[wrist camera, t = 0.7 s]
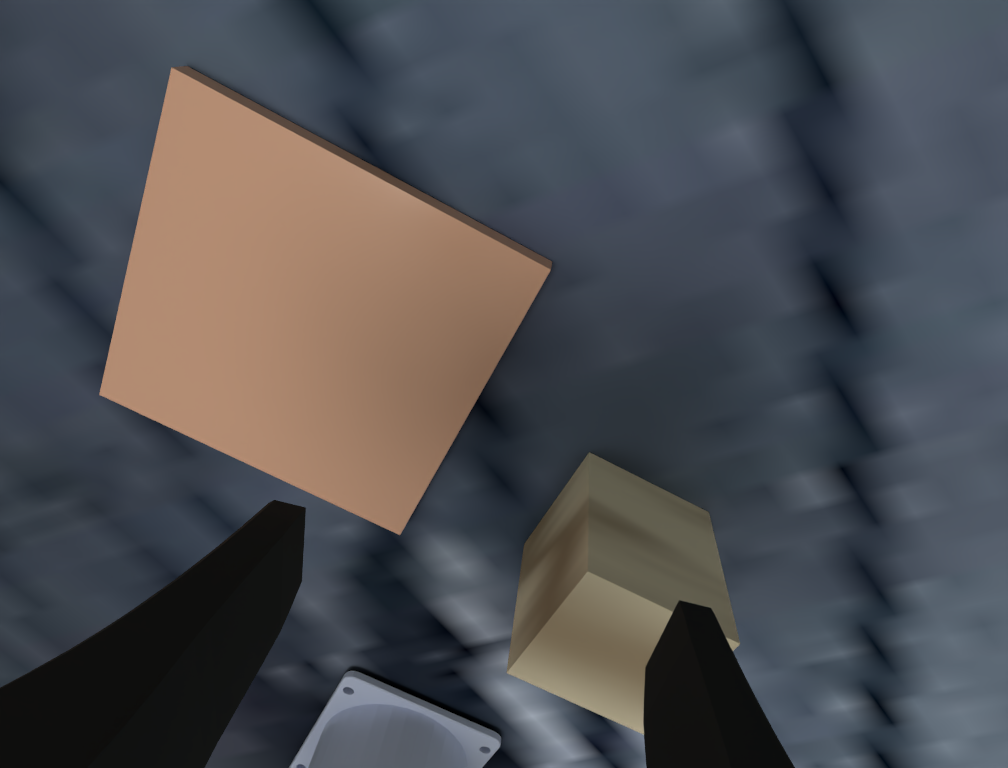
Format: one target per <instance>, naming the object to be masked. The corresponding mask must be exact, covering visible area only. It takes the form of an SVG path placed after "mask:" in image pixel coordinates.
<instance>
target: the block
mask: <svg viewBox="0 0 1008 768" xmlns="http://www.w3.org/2000/svg"><path fill="white" fill-rule="evenodd" d="M679 600H681V601H685V602H689V603H693V604H697V605H701V606H705V607H710V608H711V609H712V610H713V612H714V614H715V616H716V618H717V620H718V622H719V624H720V626H721V628H722V630H723V633H724V635H725V637H726V639H727V641H728V643H729V645H730V647H731V649H732V651H733V650H734V649H735V648H736V647H738V646H739V645H740V641H739V637H738V633H737V629H736V624H735V620H734V616H733V612H732V608H731V603H730V599H729V595H728V591H727V587H726V582H725V578H724V574H723V570H722V566H721V561H720V557H719V553H718V549H717V544H716V540H715V536H714V532H713V528H712V523H711V519H710V515H709V512H707V511H705V510H703V509H701V508H699V507H697V506H695V505H693V504H691V503H689V502H687V501H685V500H683V499H681V498H679V497H678V496H676V495H674V494H672V493H670V492H668V491H666V490H664V489H662V488H660V487H658V486H656V485H654V484H652V483H650V482H648V481H646V480H644V479H642V478H640V477H638V476H636V475H634V474H632V473H630V472H628V471H626V470H624V469H622V468H620V467H618V466H616V465H614V464H612V463H610V462H608V461H606V460H604V459H602V458H600V457H598V456H596V455H594V454H592V453H590V452H589V453H588V455H587V456H586V457H585V459H584V460H583V462H582V463H581V465H580V466H579V467H578V469H577V470H576V472H575V473H574V474H573V476H572V477H571V479H570V480H569V482H568V483H567V484H566V486H565V487H564V489H563V490H562V491H561V493H560V494H559V496H558V497H557V498H556V500H555V501H554V503H553V504H552V506H551V507H550V508H549V510H548V511H547V513H546V514H545V515H544V517H543V518H542V520H541V521H540V523H539V524H538V525H537V527H536V528H535V530H534V531H533V532H532V534H531V535H530V537H529V538H528V539H527V541H526V542H525V544H524V549H523V557H522V564H521V571H520V579H519V586H518V593H517V601H516V608H515V615H514V623H513V630H512V637H511V645H510V652H509V659H508V667H507V673H508V674H510V675H512V676H515V677H517V678H519V679H521V680H524V681H526V682H528V683H530V684H532V685H535V686H537V687H539V688H541V689H544V690H546V691H548V692H550V693H553V694H555V695H557V696H559V697H561V698H564V699H566V700H568V701H570V702H573V703H575V704H577V705H579V706H581V707H584V708H586V709H588V710H590V711H593V712H595V713H597V714H599V715H602V716H604V717H606V718H608V719H610V720H613V721H615V722H617V723H619V724H622V725H624V726H626V727H628V728H630V729H633V730H635V731H637V732H639V733H642V734H644V725H643V716H644V686H645V667H646V665H647V663H648V661H649V659H650V657H651V655H652V653H653V651H654V649H655V647H656V645H657V643H658V641H659V639H660V637H661V635H662V633H663V631H664V629H665V627H666V625H667V623H668V621H669V619H670V617H671V615H672V613H673V611H674V609H675V607H676V605H677V603H678V601H679Z"/></svg>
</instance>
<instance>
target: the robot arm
mask: <svg viewBox="0 0 1008 768" xmlns="http://www.w3.org/2000/svg"><path fill="white" fill-rule="evenodd" d="M305 511H306V508H305V507H301V506H297V505H293V504H288V503H284V502H280V501H276V500H274V501H272V502H270V503H268V504H267V505H266V506H265V507H264V508H262V509H261V510H260V511H259V512H258V513H257V514H256V515H254V516H253V517H252V518H251V519H250V520H249V521H248V522H246V523H245V524H244V525H243V526H242V527H241V528H239V529H238V530H237V531H236V532H235V533H233V534H232V535H231V536H230V537H229V538H227V539H226V540H225V541H224V542H222V543H221V544H220V545H219V546H218V547H216V548H215V549H214V550H213V551H211V552H210V553H209V554H208V555H206V556H205V557H204V558H202V559H201V560H200V561H199V562H197V563H196V564H195V565H193V566H192V567H191V568H190V569H188V570H187V571H186V572H184V573H183V574H182V575H181V576H179V577H178V578H176V579H175V580H174V581H172V582H171V583H170V584H168V585H167V586H165V587H164V588H163V589H161V590H160V591H158V592H157V593H156V594H154V595H153V596H151V597H150V598H148V599H147V600H146V601H144V602H143V603H141V604H140V605H139V606H137V607H136V608H134V609H133V610H131V611H130V612H128V613H127V614H125V615H124V616H122V617H121V618H119V619H118V620H116V621H115V622H113V623H112V624H110V625H109V626H107V627H106V628H104V629H102V630H101V631H99V632H98V633H96V634H94V635H93V636H91V637H89V638H88V639H86V640H85V641H83V642H81V643H80V644H78V645H76V646H75V647H73V648H71V649H70V650H68V651H66V652H64V653H63V654H61V655H59V656H57V657H56V658H54V659H52V660H50V661H48V662H47V663H45V664H43V665H41V666H40V667H38V668H36V669H34V670H32V671H31V672H29V673H27V674H25V675H23V676H21V677H20V678H18V679H16V680H14V681H12V682H10V683H8V684H6V685H4V686H3V687H1V688H0V768H204V767H205V766H206V764H207V762H208V760H209V758H210V756H211V754H212V752H213V750H214V748H215V746H216V744H217V743H218V741H219V739H220V737H221V735H222V734H223V732H224V730H225V728H226V727H227V725H228V723H229V721H230V720H231V718H232V716H233V714H234V713H235V711H236V709H237V707H238V706H239V704H240V702H241V700H242V699H243V697H244V695H245V693H246V692H247V690H248V688H249V686H250V685H251V683H252V681H253V679H254V678H255V676H256V674H257V672H258V671H259V669H260V667H261V665H262V663H263V662H264V660H265V658H266V656H267V655H268V653H269V651H270V649H271V647H272V646H273V644H274V642H275V640H276V638H277V637H278V635H279V633H280V631H281V629H282V627H283V624H284V622H285V620H286V617H287V615H288V613H289V611H290V608H291V606H292V604H293V601H294V599H295V596H296V594H297V592H298V589H299V587H300V584H301V582H302V567H303V548H304V530H305ZM643 725H644V739H645V752H646V765H647V768H795V767H794V765H793V764H792V762H791V760H790V759H789V757H788V755H787V754H786V752H785V750H784V748H783V747H782V745H781V743H780V741H779V740H778V738H777V736H776V734H775V732H774V731H773V729H772V727H771V725H770V723H769V721H768V719H767V718H766V716H765V714H764V712H763V710H762V708H761V706H760V705H759V703H758V701H757V699H756V697H755V695H754V693H753V691H752V689H751V687H750V685H749V683H748V682H747V680H746V678H745V676H744V674H743V672H742V669H741V667H740V665H739V663H738V661H737V659H736V657H735V655H734V653H733V651H732V649H731V647H730V645H729V643H728V641H727V639H726V637H725V635H724V633H723V630H722V628H721V626H720V624H719V622H718V620H717V618H716V616H715V614H714V612H713V610H712V609H711V608H710V607H705V606H701V605H697V604H693V603H689V602H685V601H681V600H679V601H678V603H677V605H676V607H675V609H674V611H673V613H672V615H671V617H670V619H669V621H668V623H667V625H666V627H665V629H664V631H663V633H662V635H661V637H660V639H659V641H658V643H657V645H656V647H655V649H654V651H653V653H652V655H651V657H650V659H649V661H648V663H647V665H646V667H645V686H644V716H643ZM500 745H501V736H500V735H499V734H498V733H496V732H495V731H492V730H490V729H488V728H486V727H483V726H481V725H479V724H476V723H474V722H472V721H470V720H467V719H465V718H463V717H460V716H458V715H456V714H454V713H451V712H449V711H447V710H444V709H442V708H440V707H438V706H435V705H433V704H431V703H429V702H426V701H424V700H422V699H419V698H417V697H415V696H413V695H410V694H408V693H406V692H403V691H401V690H399V689H397V688H394V687H392V686H390V685H387V684H385V683H383V682H381V681H378V680H376V679H374V678H371V677H369V676H367V675H365V674H362V673H360V672H357V671H348V672H346V673H345V674H344V676H343V678H342V679H341V681H340V683H339V684H338V686H337V688H336V689H335V691H334V693H333V694H332V696H331V698H330V699H329V701H328V703H327V704H326V706H325V708H324V709H323V711H322V713H321V714H320V716H319V718H318V719H317V721H316V723H315V724H314V726H313V728H312V729H311V731H310V733H309V734H308V736H307V738H306V739H305V741H304V743H303V745H302V746H301V748H300V750H299V751H298V753H297V755H296V756H295V758H294V760H293V761H292V763H291V765H290V766H289V768H482V767H483V766H484V765H485V764H486V763H487V761H488V760H489V759H490V758H491V757H492V756H493V755H494V753H495V752H496V751H497V750H498V749H499V747H500Z"/></svg>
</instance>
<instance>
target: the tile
mask: <svg viewBox="0 0 1008 768" xmlns="http://www.w3.org/2000/svg"><path fill="white" fill-rule="evenodd" d="M551 267H552V261H550V260H548V259H546V258H545V257H543V256H541V255H539V254H537V253H535V252H533V251H532V250H530V249H528V248H526V247H524V246H522V245H520V244H518V243H517V242H515V241H513V240H511V239H509V238H507V237H505V236H504V235H502V234H500V233H498V232H496V231H494V230H492V229H490V228H489V227H487V226H485V225H483V224H481V223H479V222H477V221H476V220H474V219H472V218H470V217H468V216H466V215H464V214H462V213H461V212H459V211H457V210H455V209H453V208H451V207H449V206H447V205H446V204H444V203H442V202H440V201H438V200H436V199H434V198H433V197H431V196H429V195H427V194H425V193H423V192H421V191H419V190H418V189H416V188H414V187H412V186H410V185H408V184H406V183H405V182H403V181H401V180H399V179H397V178H395V177H393V176H391V175H390V174H388V173H386V172H384V171H382V170H380V169H378V168H376V167H375V166H373V165H371V164H369V163H367V162H365V161H363V160H362V159H360V158H358V157H356V156H354V155H352V154H350V153H348V152H347V151H345V150H343V149H341V148H339V147H337V146H335V145H334V144H332V143H330V142H328V141H326V140H324V139H322V138H320V137H319V136H317V135H315V134H313V133H311V132H309V131H307V130H306V129H304V128H302V127H300V126H298V125H296V124H294V123H292V122H291V121H289V120H287V119H285V118H283V117H281V116H279V115H277V114H276V113H274V112H272V111H270V110H268V109H266V108H264V107H263V106H261V105H259V104H257V103H255V102H253V101H251V100H249V99H248V98H246V97H244V96H242V95H240V94H238V93H236V92H235V91H233V90H231V89H229V88H227V87H225V86H223V85H221V84H220V83H218V82H216V81H214V80H212V79H210V78H208V77H207V76H205V75H203V74H201V73H199V72H197V71H195V70H193V69H192V68H190V67H188V66H183V67H172V68H171V73H170V77H169V82H168V86H167V91H166V96H165V100H164V105H163V109H162V114H161V118H160V123H159V127H158V132H157V136H156V141H155V145H154V150H153V154H152V159H151V163H150V168H149V172H148V177H147V182H146V186H145V191H144V195H143V200H142V204H141V209H140V213H139V218H138V222H137V227H136V231H135V236H134V240H133V245H132V249H131V254H130V258H129V263H128V268H127V272H126V277H125V281H124V286H123V290H122V295H121V299H120V304H119V308H118V313H117V317H116V322H115V326H114V331H113V335H112V340H111V344H110V349H109V354H108V358H107V363H106V367H105V372H104V376H103V381H102V385H101V390H100V394H99V395H101V396H103V397H106V398H108V399H110V400H112V401H114V402H116V403H118V404H120V405H123V406H125V407H127V408H129V409H131V410H133V411H135V412H138V413H140V414H142V415H144V416H146V417H148V418H150V419H153V420H155V421H157V422H159V423H161V424H163V425H165V426H168V427H170V428H172V429H174V430H176V431H178V432H180V433H183V434H185V435H187V436H189V437H191V438H193V439H195V440H197V441H200V442H202V443H204V444H206V445H208V446H210V447H212V448H215V449H217V450H219V451H221V452H223V453H225V454H227V455H230V456H232V457H234V458H236V459H238V460H240V461H242V462H245V463H247V464H249V465H251V466H253V467H255V468H257V469H259V470H262V471H264V472H266V473H268V474H270V475H272V476H274V477H277V478H279V479H281V480H283V481H285V482H287V483H289V484H292V485H294V486H296V487H298V488H300V489H302V490H304V491H307V492H309V493H311V494H313V495H315V496H317V497H319V498H322V499H324V500H326V501H328V502H330V503H332V504H334V505H336V506H339V507H341V508H343V509H345V510H347V511H349V512H351V513H354V514H356V515H358V516H360V517H362V518H364V519H366V520H369V521H371V522H373V523H375V524H377V525H379V526H381V527H384V528H386V529H388V530H390V531H392V532H394V533H396V534H399V535H400V534H401V532H402V531H403V529H404V527H405V525H406V524H407V522H408V520H409V518H410V517H411V515H412V513H413V511H414V510H415V508H416V506H417V504H418V503H419V501H420V499H421V497H422V496H423V494H424V492H425V490H426V489H427V487H428V485H429V483H430V482H431V480H432V478H433V476H434V474H435V473H436V471H437V469H438V467H439V466H440V464H441V462H442V460H443V459H444V457H445V455H446V453H447V452H448V450H449V448H450V446H451V445H452V443H453V441H454V439H455V438H456V436H457V434H458V432H459V431H460V429H461V427H462V425H463V423H464V422H465V420H466V418H467V416H468V415H469V413H470V411H471V409H472V408H473V406H474V404H475V402H476V401H477V399H478V397H479V395H480V394H481V392H482V390H483V388H484V387H485V385H486V383H487V381H488V380H489V378H490V376H491V374H492V373H493V371H494V369H495V367H496V365H497V364H498V362H499V360H500V358H501V357H502V355H503V353H504V351H505V350H506V348H507V346H508V344H509V343H510V341H511V339H512V337H513V336H514V334H515V332H516V330H517V329H518V327H519V325H520V323H521V322H522V320H523V318H524V316H525V314H526V313H527V311H528V309H529V307H530V306H531V304H532V302H533V300H534V299H535V297H536V295H537V293H538V292H539V290H540V288H541V286H542V285H543V283H544V281H545V279H546V278H547V276H548V274H549V272H550V271H551Z"/></svg>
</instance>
